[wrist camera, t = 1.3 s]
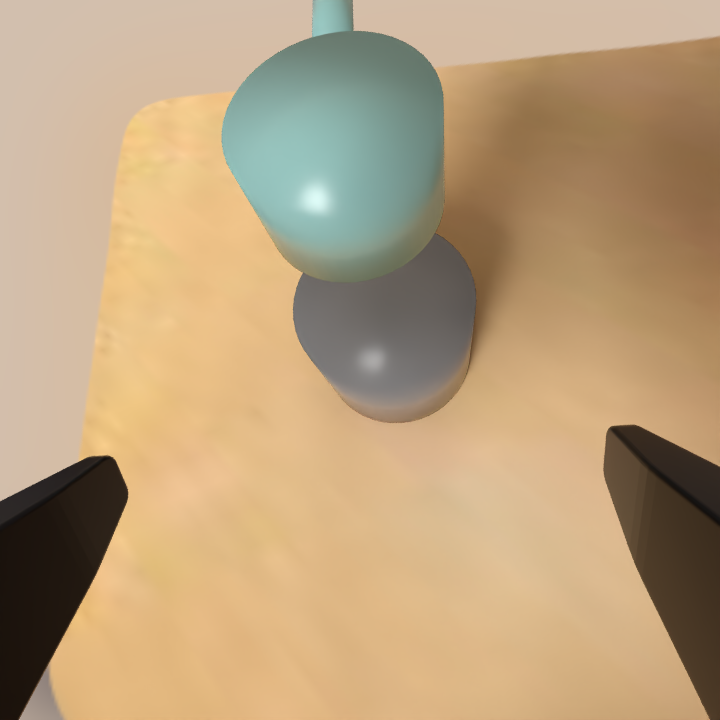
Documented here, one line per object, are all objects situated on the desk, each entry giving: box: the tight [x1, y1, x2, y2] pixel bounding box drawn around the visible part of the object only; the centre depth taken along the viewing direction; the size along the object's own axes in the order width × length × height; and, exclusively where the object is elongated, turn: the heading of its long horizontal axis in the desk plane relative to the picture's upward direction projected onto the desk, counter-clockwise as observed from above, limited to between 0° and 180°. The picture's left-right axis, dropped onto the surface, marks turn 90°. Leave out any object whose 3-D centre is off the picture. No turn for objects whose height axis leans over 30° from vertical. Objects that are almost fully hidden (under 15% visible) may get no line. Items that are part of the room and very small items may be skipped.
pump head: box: [222, 0, 445, 283], centre depth 13 cm, size 7×5×5 cm, turn 2°
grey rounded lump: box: [293, 233, 476, 423], centre depth 21 cm, size 7×7×6 cm
